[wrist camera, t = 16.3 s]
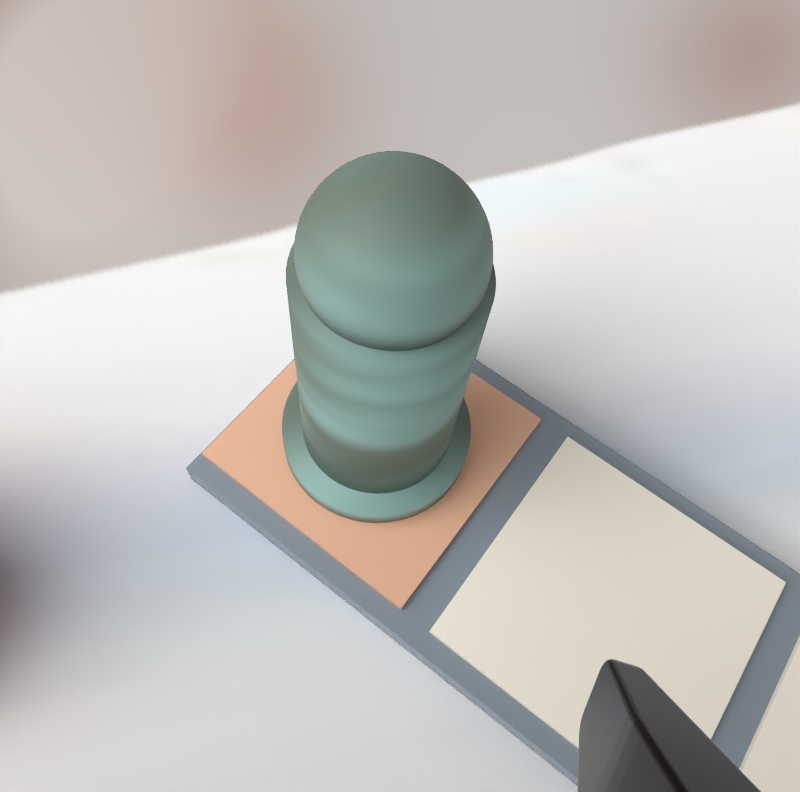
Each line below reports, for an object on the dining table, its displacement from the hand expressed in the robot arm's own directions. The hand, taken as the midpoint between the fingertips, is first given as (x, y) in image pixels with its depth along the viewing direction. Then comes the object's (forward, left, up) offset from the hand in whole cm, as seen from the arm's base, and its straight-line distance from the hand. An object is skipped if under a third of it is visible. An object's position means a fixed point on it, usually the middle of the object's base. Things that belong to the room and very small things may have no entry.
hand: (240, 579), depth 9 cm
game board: (+6, -7, -12) cm, 15 cm away
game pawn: (+7, +2, -11) cm, 13 cm away
